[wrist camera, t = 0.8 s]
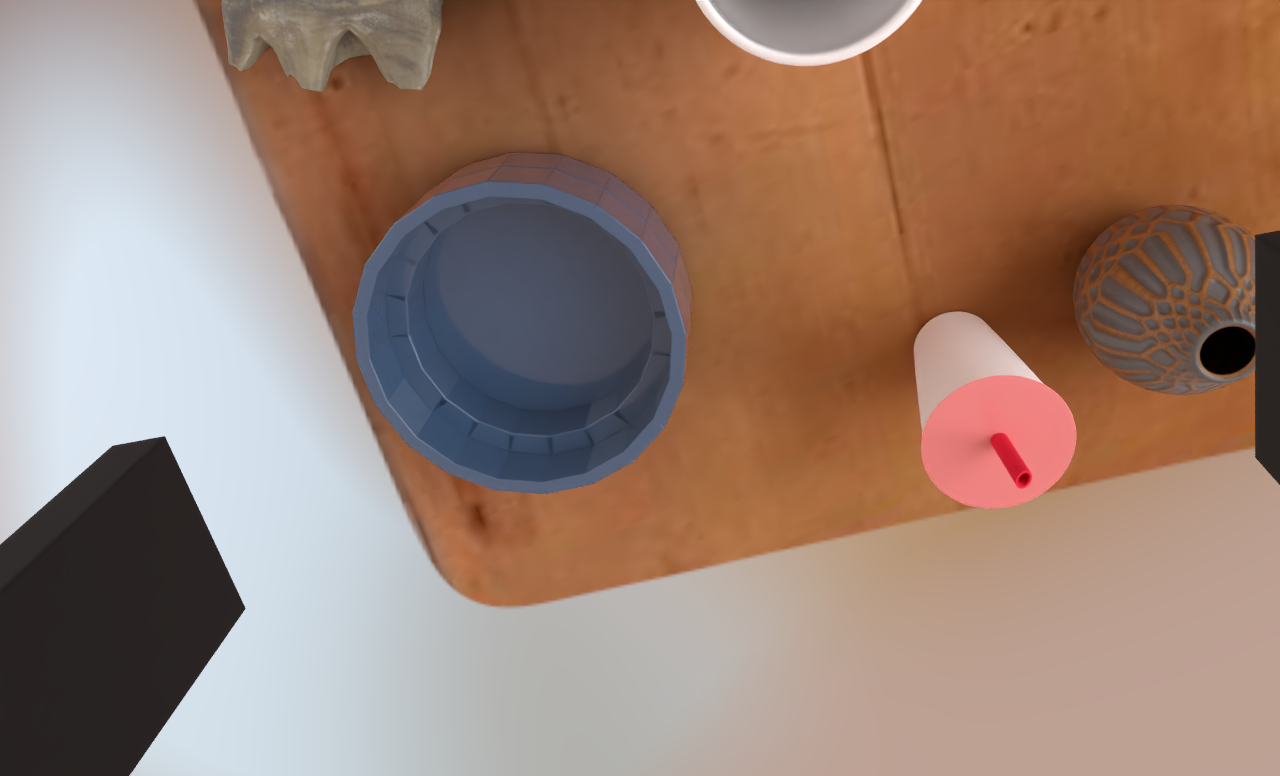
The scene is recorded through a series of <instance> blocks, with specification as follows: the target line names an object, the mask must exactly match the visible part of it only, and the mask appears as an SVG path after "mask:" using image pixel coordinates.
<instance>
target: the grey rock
mask: <svg viewBox="0 0 1280 776" xmlns="http://www.w3.org/2000/svg"><path fill="white" fill-rule="evenodd" d="M443 1H444V0H222V13H223V22H224V28H225V34H226V40H227V48H228V61H229V64H230V65H233V66H235V67H236V68H237V69H239V70H240V71H243V70H246V69H248V68H251V66H252V65H253V64H254V63H255V62H256V61H257V60H258V59H259V58H260V56H261V55H262V54H263V53H264V52H265V51H266V50H267V49H268V48H269V47H270V46H272V48H273V50H274V51H275V53H276V55H277V57H278V59H279V61H280V63H281V65H282V68H283V70H284V72H285V74H286V76H287V77H289V76H293V77H294V78H295V79H296V80H297V81H298V83H299V84H300V86H301V87H302V88H303V89H309V90H315V91H320V92H322V91H323V90H324V89H325V88H326V85H327V81H328V78H329V75H330V73H331V72H332V70H333V68H334V67H335V66H337V65H338V64H340V63H341V62H343V61H345V60H346V59H348V58H352V57H357V56H362V55H372V56H373V58H374V60H375V62H376V64H377V66H378V68H379V70H380V71H381V73H382V74H383V76H384V77H385V79H386V80H387V82H390V83H393V84H395V85H396V86H397V87H399V88H400V89H415V90H422V89H423V87H424V86H425V84H426V82H427V81H428V79H429V77H430V75H431V71H432V65H433V59H434V55H435V51H436V47H437V44H438V40H439V36H440V33H441V28H442V16H441V6H442V4H443Z"/></svg>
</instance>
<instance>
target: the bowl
mask: <svg viewBox="0 0 1280 776" xmlns="http://www.w3.org/2000/svg"><path fill="white" fill-rule="evenodd" d="M691 307H692V289H691V285H690V282H689V278H688V275H687V271H686V267H685V264H684V260H683V257H682V253H681V250H680V247H679V245H678V243H677V242H676V240H675V239H674V237H673V236H672V234H671V233H670V232H669V230H668V229H667V227H666V226H665V224H664V223H663V221H662V220H661V218H660V217H659V215H658V214H657V212H656V211H655V209H654V208H653V207H652V206H651V204H650V203H648V202H647V201H646V200H645V199H643V198H642V197H641V196H640V195H638V194H637V193H636V192H635V191H633V190H632V189H631V188H630V187H628V186H627V185H626V184H624V183H623V182H622V181H621V180H619V179H618V178H617V177H616V176H614V175H613V174H611V173H609V172H607V171H604V170H602V169H599V168H596V167H594V166H591V165H588V164H586V163H583V162H581V161H578V160H575V159H573V158H570V157H567V156H563V155H556V154H537V153H519V152H514V153H508V154H505V155H501V156H497V157H494V158H490V159H487V160H483V161H479V162H476V163H472V164H468V165H466V166H464V167H462V168H461V169H460V170H458V171H457V172H455V173H454V174H452V175H451V176H450V177H448V178H447V179H445V180H444V181H442V182H441V183H440V184H438V185H437V186H435V187H434V188H432V189H431V190H430V191H428V192H427V193H426V194H425V195H424V196H423V197H422V198H421V199H420V200H419V201H417V202H416V203H415V204H414V205H413V206H412V207H411V208H410V209H409V210H408V211H407V212H406V213H405V214H404V215H402V216H401V217H400V218H399V219H398V220H397V221H396V222H395V223H394V224H393V225H392V226H391V227H390V229H389V230H388V232H387V233H386V235H385V236H384V237H383V239H382V240H381V242H380V243H379V245H378V246H377V248H376V249H375V250H374V252H373V253H372V255H371V256H370V258H369V259H368V260H367V262H366V263H365V266H364V268H363V272H362V276H361V280H360V284H359V288H358V292H357V296H356V299H355V303H354V307H353V313H352V316H353V327H354V338H355V350H356V360H357V363H358V366H359V368H360V371H361V373H362V375H363V378H364V380H365V382H366V385H367V387H368V389H369V392H370V394H371V396H372V399H373V401H374V404H375V406H377V409H378V410H379V411H380V412H381V413H382V415H383V416H384V417H385V418H386V419H387V421H388V422H389V423H390V424H391V425H392V427H393V428H394V429H395V430H396V432H397V433H398V434H399V435H400V436H401V438H402V439H403V440H404V441H405V442H406V444H408V446H409V447H411V448H412V449H414V450H415V451H417V452H418V453H420V454H421V455H422V456H424V457H425V458H427V459H428V460H430V461H431V462H432V463H434V464H435V465H437V466H438V467H440V468H441V469H443V470H444V471H445V472H447V473H449V474H450V475H453V476H456V477H459V478H462V479H464V480H467V481H470V482H473V483H476V484H478V485H481V486H484V487H487V488H490V489H492V490H497V491H509V492H523V493H536V494H548V493H553V492H558V491H563V490H567V489H572V488H577V487H582V486H587V485H591V484H594V483H596V482H598V481H599V480H601V479H603V478H605V477H607V476H608V475H610V474H612V473H614V472H616V471H617V470H619V469H621V468H623V467H625V466H626V465H628V464H630V463H632V462H633V461H635V460H636V458H637V457H638V456H639V455H640V454H641V453H642V452H643V451H644V450H645V449H646V448H647V446H648V445H649V444H650V443H651V442H652V441H653V440H654V439H655V438H656V437H657V436H658V434H659V433H660V432H661V431H662V430H663V429H664V428H665V426H666V424H667V422H668V419H669V417H670V415H671V412H672V410H673V408H674V405H675V403H676V401H677V398H678V396H679V394H680V391H681V389H682V386H683V383H684V378H685V370H686V362H687V354H688V346H689V339H690V324H691Z"/></svg>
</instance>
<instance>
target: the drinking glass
mask: <svg viewBox="0 0 1280 776" xmlns="http://www.w3.org/2000/svg"><path fill="white" fill-rule="evenodd" d="M695 1H696V3H697V4H698V6H699V7H700V9H701V11H702V12H703V14H704V15H705V16H706V18H707V19H708V20H709V21H710V23H711V24H712V25H713V26H714V27H715V28H716V29H717V30H718V31H719V32H720V33H721V34H722V35H723V36H724V37H726V38H727V39H728V40H729V41H730V42H732V43H733V44H735V45H736V46H738V47H739V48H741V49H743V50H744V51H746V52H748V53H750V54H752V55H754V56H757V57H759V58H761V59H764V60H767V61H771V62H774V63H778V64H784V65H790V66H819V65H827V64H831V63H836V62H840V61H843V60H846V59H849V58H852V57H854V56H856V55H859V54H861V53H863V52H865V51H867V50H869V49H871V48H872V47H874V46H876V45H877V44H879V43H880V42H882V41H883V40H885V39H886V38H887V37H889V36H890V35H891V34H892V33H893V32H895V31H896V30H897V29H898V28H899V27H900V26H901V25H902V24H903V23H904V22H905V21H906V20H907V19H908V18H909V17H910V16H911V14H912V13H913V12H914V11H915V10H916V8H917V7H918V6H919V4H920V3H921V1H922V0H695Z"/></svg>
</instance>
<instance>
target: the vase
mask: <svg viewBox="0 0 1280 776" xmlns="http://www.w3.org/2000/svg"><path fill="white" fill-rule="evenodd" d="M1073 306H1074V313H1075V318H1076V322H1077V325H1078V328H1079V330H1080V332H1081V334H1082V336H1083V338H1084V340H1085V342H1086V343H1087V345H1088V346H1089V348H1090V349H1091V351H1092V352H1093V353H1094V355H1095V356H1096V357H1097V358H1098V359H1099V360H1100V361H1101V363H1102V364H1104V365H1105V366H1106V367H1107V368H1108V369H1109V370H1111V371H1112V372H1113V373H1115V374H1116V375H1118V376H1119V377H1121V378H1122V379H1124V380H1126V381H1128V382H1130V383H1132V384H1134V385H1136V386H1139V387H1142V388H1145V389H1147V390H1151V391H1155V392H1159V393H1165V394H1175V395H1190V394H1199V393H1204V392H1208V391H1212V390H1216V389H1219V388H1221V387H1224V386H1226V385H1229V384H1231V383H1233V382H1235V381H1238V380H1241V379H1243V378H1245V377H1246V376H1248V375H1249V374H1251V373H1252V372H1253V371H1254V370H1255V237H1254V236H1253V235H1252V234H1251V233H1250V232H1248V231H1247V230H1246V229H1245V228H1243V227H1242V226H1240V225H1239V224H1237V223H1235V222H1234V221H1232V220H1230V219H1229V218H1227V217H1224V216H1222V215H1220V214H1218V213H1215V212H1213V211H1210V210H1207V209H1203V208H1198V207H1192V206H1183V205H1167V206H1158V207H1152V208H1148V209H1144V210H1140V211H1137V212H1135V213H1132V214H1130V215H1128V216H1126V217H1124V218H1122V219H1120V220H1118V221H1117V222H1115V223H1114V224H1112V225H1111V226H1109V227H1108V228H1107V229H1106V230H1104V231H1103V232H1102V233H1101V234H1100V235H1099V236H1098V237H1097V238H1096V239H1095V240H1094V242H1093V243H1092V244H1091V245H1090V247H1089V248H1088V250H1087V251H1086V253H1085V254H1084V256H1083V258H1082V260H1081V262H1080V264H1079V267H1078V269H1077V272H1076V276H1075V281H1074V288H1073Z"/></svg>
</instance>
